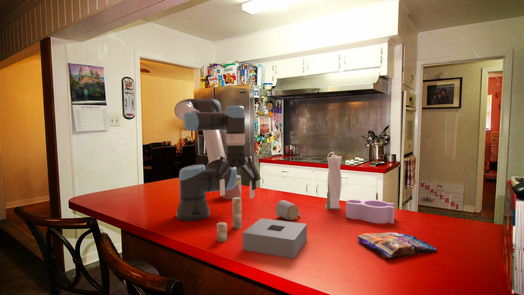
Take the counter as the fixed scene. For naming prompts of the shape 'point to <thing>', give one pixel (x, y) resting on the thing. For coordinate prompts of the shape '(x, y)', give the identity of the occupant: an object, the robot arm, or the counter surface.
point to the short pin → (221, 231)
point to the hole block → (275, 237)
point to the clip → (370, 210)
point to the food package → (394, 244)
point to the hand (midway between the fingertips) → (237, 196)
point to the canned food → (234, 190)
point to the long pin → (237, 213)
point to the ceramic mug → (287, 210)
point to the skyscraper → (334, 182)
